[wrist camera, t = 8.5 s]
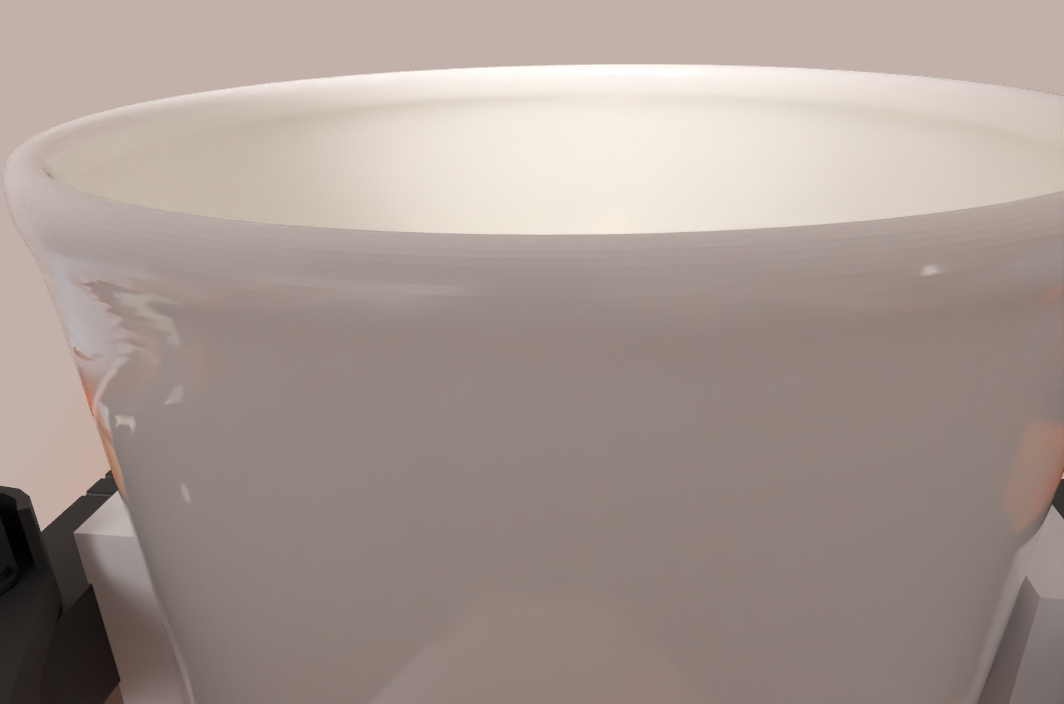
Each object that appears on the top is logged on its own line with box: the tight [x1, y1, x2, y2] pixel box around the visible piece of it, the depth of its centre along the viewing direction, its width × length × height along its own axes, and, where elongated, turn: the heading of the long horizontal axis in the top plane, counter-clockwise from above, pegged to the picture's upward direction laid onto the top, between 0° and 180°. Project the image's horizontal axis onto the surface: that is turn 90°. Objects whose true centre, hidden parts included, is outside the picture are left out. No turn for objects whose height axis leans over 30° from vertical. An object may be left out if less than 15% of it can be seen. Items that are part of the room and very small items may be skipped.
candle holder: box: [3, 64, 1064, 704], centre depth 10 cm, size 10×10×12 cm
